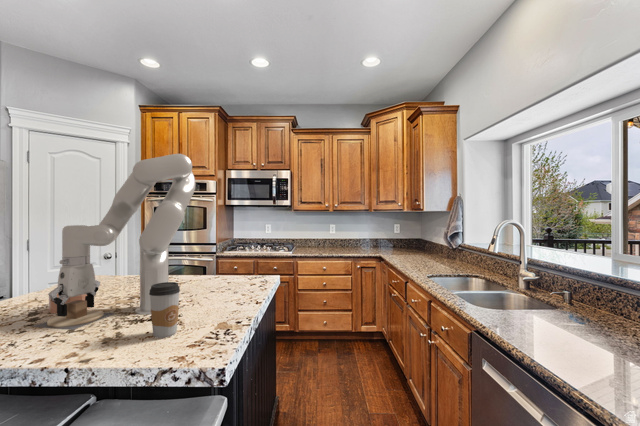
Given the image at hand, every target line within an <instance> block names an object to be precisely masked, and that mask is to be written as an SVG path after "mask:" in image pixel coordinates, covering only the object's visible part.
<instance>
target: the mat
mask: <svg viewBox="0 0 640 426" xmlns="http://www.w3.org/2000/svg"><path fill="white" fill-rule="evenodd" d="M116 314H117V313H114V312H103V317H102V318H100V319H98V320H96V321H93V322H90V323H86V324H82V325H77V326H71V327H60V328H55V327H49V326H47V321H44V322H42V323H38V324H35V325H32V326H31V328H46V329H57V330H58V329H59V330H71V331H74V330H77V329H79V328H82V327H84V326H87V325H90V324H93V323H94V322H98V321H100V320H103V319H106V318H108V317H111V316H114V315H116Z"/></svg>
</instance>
